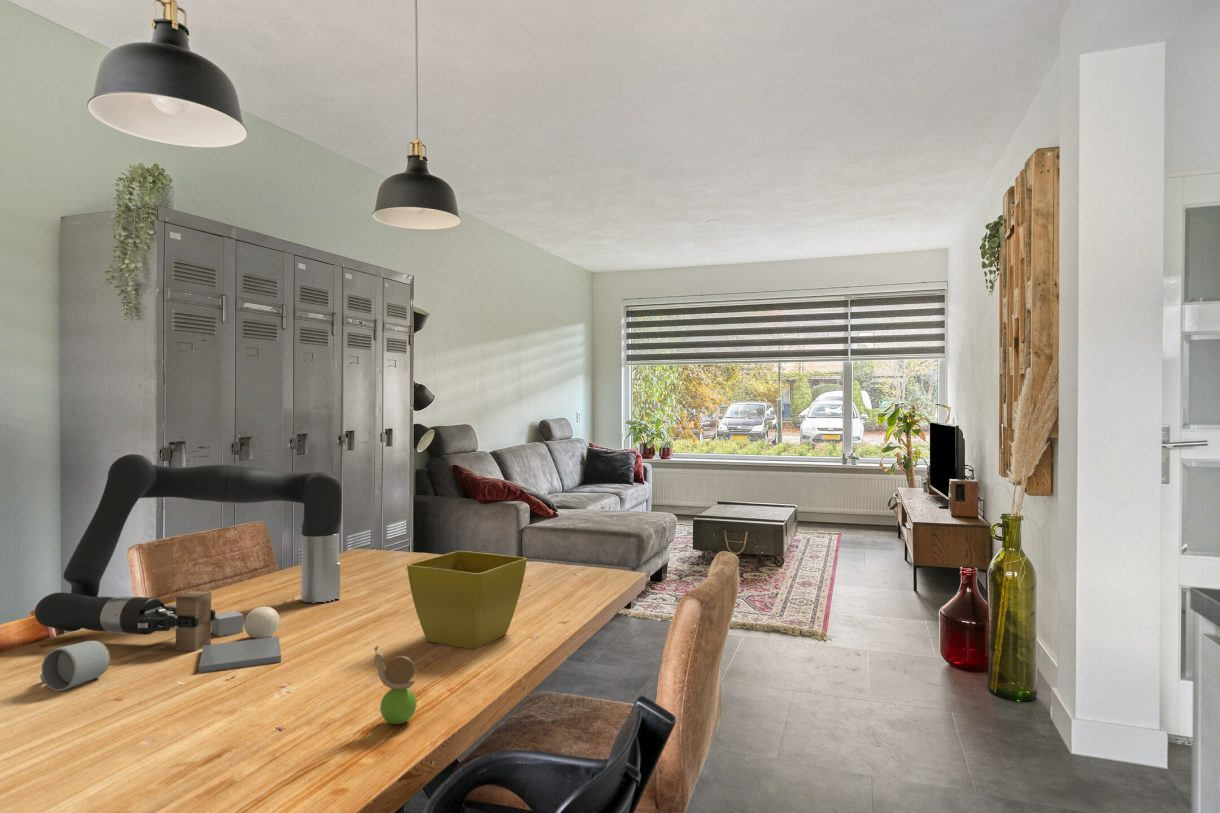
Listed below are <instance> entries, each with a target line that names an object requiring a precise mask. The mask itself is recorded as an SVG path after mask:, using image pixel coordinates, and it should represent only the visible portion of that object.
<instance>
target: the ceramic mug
mask: <svg viewBox="0 0 1220 813" xmlns="http://www.w3.org/2000/svg"><path fill="white" fill-rule="evenodd" d="M110 654H111V653H110V651H109V649H108V647H107V646H106V645H105V644H104V643H103V642H101V641H98V640H85V641H82V642H78V643H74V644H69V645H65V646H61V647H60V646H59V647H56V648H53V649H52V650H51V651H49V652H48V653H47V654H46V655H45V657H44V658H43V661H42V663H41V674H40V676H39V677H40V681H41V683H42V684H45V685H46V686H47V687H48V688H49V689H51V691H52V690H53V691H56V692H64V691H67V690H69V689H71V688H74V687H77V686H80V685H82V684H84V683H87V682H90V681H93V680H95V679H97V678H99V677H100V676H102V675H104V673H105V672H106V671H107V670H108V668H109V666H110V662H111V655H110Z"/></svg>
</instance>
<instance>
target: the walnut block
mask: <svg viewBox="0 0 1220 813" xmlns="http://www.w3.org/2000/svg"><path fill="white" fill-rule="evenodd" d="M175 606H176V615H180V616H197V617H198V626H197V627H195V628H187V627H179V628H177V629H175V651H186V652H187V651H188V652H197V651H198V650H202V649H203V645H211V644H212V640H211V639H212V621H211V610H212V591H199V590H196V591H195V590H192V591H188V592H186V593H183V594H180V595H176V596H175Z"/></svg>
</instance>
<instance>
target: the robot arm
mask: <svg viewBox="0 0 1220 813" xmlns="http://www.w3.org/2000/svg"><path fill="white" fill-rule="evenodd" d="M147 498H149V499H150V498H179V499H188V500H196V501H204V502H205V501H206V502H217V503H229V504H232V503H233V504H250V503H251V504H253V503H254V504H255V503H263V502H264V503H265V502H272V501H273V502H274V501H276V502H277V501H278V502H280V501H283V502H284V501H285V502H292V503H299V504H303V520H302V521H303V522H302V524H301V568H300V569H301V574H300V577H301V578H300V580H301V585H300V586H301V587H300V589H301V590H300V600H302V601H304V602H303V603H305V602H312V603H311V604H317V603H316V602H324V603H327V602H326V601H329V602H332V601H331V600H333V601H336V600H335V599H339V600H340V599H341V562H340V525H341V524H342V511H343V510H342V506H343V504H342V503H343V491H342V485H341V482H340V481H339V480H338V478H337V477H336V476H334V475H332V474H330V473H326V472H322V471H321V472H279V471H273V470H270V469H268V470H267V469H264V468H257V467H251V466H250V467H249V466H244V465H243V466H240V465H230V464H210V465H208V464H207V465H200V466H190V467H170V466H165V465H164V466H161V465H155V464H153V462H152V461H151V460H150V459H149V458H147V457H146V456H143V455H141V454H136V453H134V454H133V453H131V454H126V455H123V456H121V457H119V458H117V459H116V460H115V461H114V462H112V464H110V467H109V469H108V471H107V480H106V482H105V487H104V491H103V494H102V496H101V499H100V501H99V504H97V508H96V509H95V510H96V511H95V513H94V514H93V517H92V519H91V521H90V522H89V524H88V526H87V527H86V529H85V532H84V533H83V535H82V537H81V538H80V540H79V542H78V544H77V545H76V547H75V550H74V552H73V554H72V555H71V557H70V559H69V562H68V563H67V565H66V567H65V570H64V572H63V576H62V577H63V579H64V580H65V582H67V583H69V584H70V586H71V587H70V589H71V590H70V592H54V593H50V594H48V595H46V596H44V597H42V599H40V600H39V602H37V604H36V606H35V608H34V618H35V619H36V621H37V622H38V623H39V624H41V625H42V626H45V627H48V628H52V629H57V630H59V631H60V630H61V631H65V632H76V631H79V630H81V629H84V630H88V631H93V632H108V633H110V632H111V633H115V634H124V635H127V634H128V635H151V634H153V633H155V632H168V631H170V630H171V629H175V630H176V629H177V628H179V627H187V628H195V627H197V626H198V617H197V616H180V615H176V604H167V605H165V604H164V603H163V601H162V600H161V599H159V598H158V597H150V596H149V597H148V596H147V597H145V596H144V597H143V596H120V597H119V596H118V597H117V596H116V597H115V596H99V592H100V586H101V585H100V583H101V580H102V578H103V576H104V574H105V571H106V570H107V568H108V566H109V564H110V562H111V559H112V557H113V555H114V553H115V550H116V547H117V546H118V542H119V540H120V537H121V534H122V531H123V529H124V526H125V524H126V521H127V520H128V518H129V515H130V514H131V512H132V509H133V508H134V506H135V505H136V503H137V501H138V500H139V499H147ZM302 601H301V602H302ZM215 614H216V610H215V609H211V622H212V621H213V620H215Z"/></svg>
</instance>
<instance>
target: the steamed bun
mask: <svg viewBox="0 0 1220 813" xmlns="http://www.w3.org/2000/svg"><path fill="white" fill-rule="evenodd" d="M280 619H281V618H280V615H279V613H278V611H277V610H276V609H274V608H273V607H271V606H258V607H256V608H254V609H251V611H249V612H248V614H247V615H246V617H245V619H244V620H243V629H244V631H245V633H246V634H247V635H248V636H249V637H250V638H253V639H261V638H269V637H273V635H274V634H275V633H276V632H277V630H278V628H279V627H280Z"/></svg>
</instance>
